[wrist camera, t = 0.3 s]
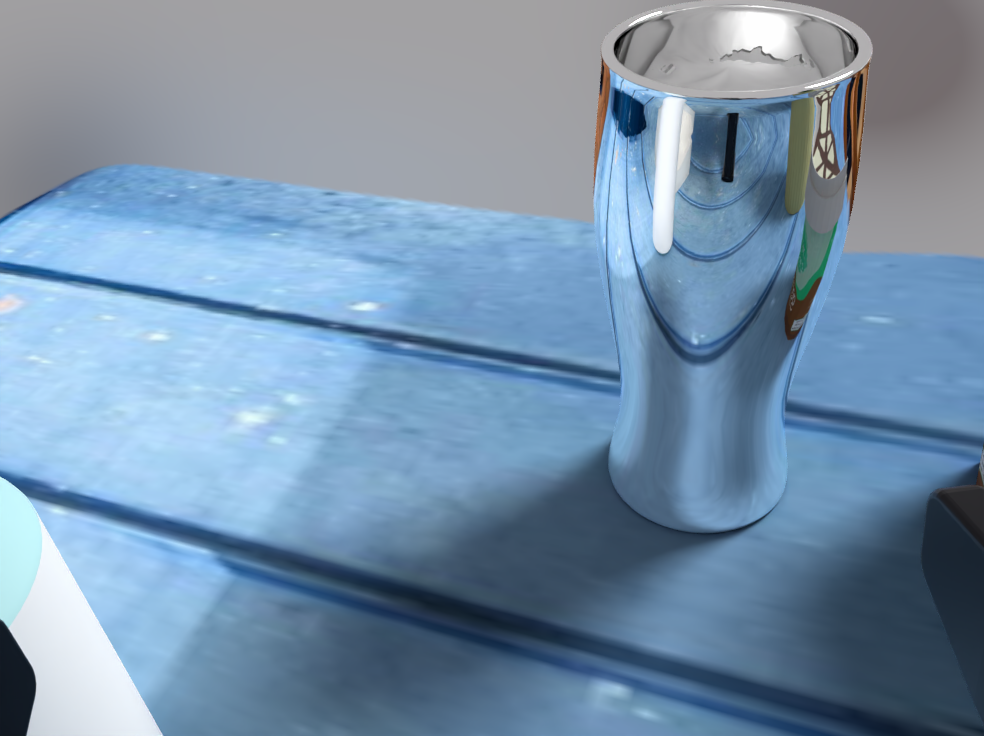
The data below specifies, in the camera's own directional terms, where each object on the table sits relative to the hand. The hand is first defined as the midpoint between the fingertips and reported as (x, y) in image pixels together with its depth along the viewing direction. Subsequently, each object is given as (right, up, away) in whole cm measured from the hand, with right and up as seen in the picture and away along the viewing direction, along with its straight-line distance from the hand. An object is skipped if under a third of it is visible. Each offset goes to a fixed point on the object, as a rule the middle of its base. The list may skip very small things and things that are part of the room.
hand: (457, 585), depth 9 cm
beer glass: (+7, -2, +24) cm, 25 cm away
